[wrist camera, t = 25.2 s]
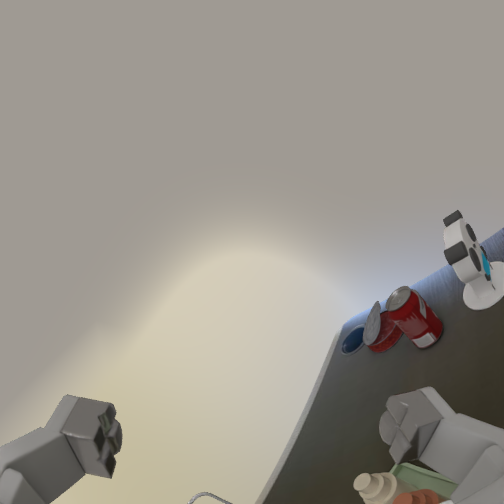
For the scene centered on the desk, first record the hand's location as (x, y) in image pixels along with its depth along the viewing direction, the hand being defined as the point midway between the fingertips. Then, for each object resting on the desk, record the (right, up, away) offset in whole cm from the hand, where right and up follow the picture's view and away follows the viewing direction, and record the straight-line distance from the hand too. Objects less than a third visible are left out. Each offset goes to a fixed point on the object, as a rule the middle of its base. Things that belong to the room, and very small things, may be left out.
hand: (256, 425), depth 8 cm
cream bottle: (+20, -29, +19) cm, 40 cm away
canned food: (+30, -14, +55) cm, 65 cm away
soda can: (+34, -11, +43) cm, 56 cm away
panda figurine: (+44, -2, +37) cm, 57 cm away
